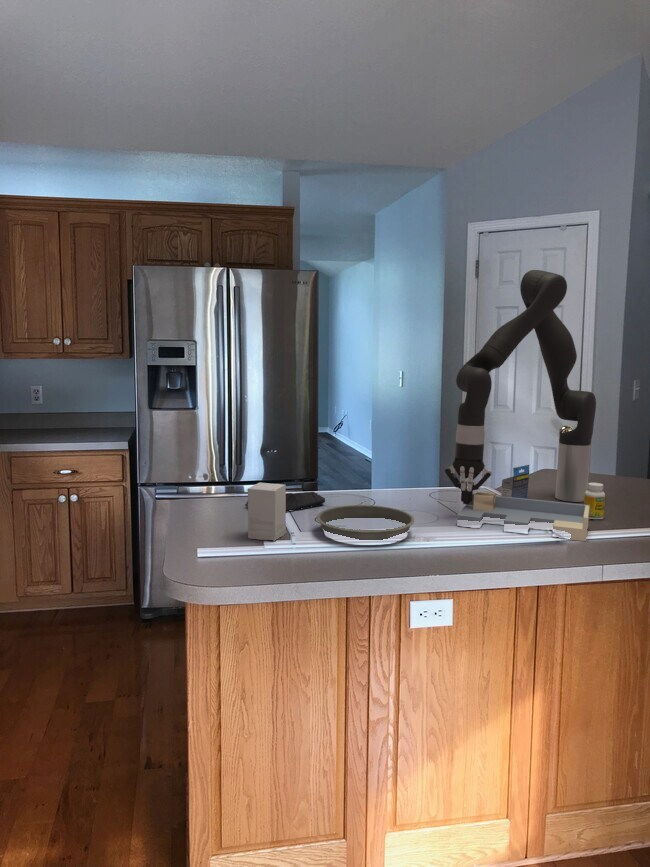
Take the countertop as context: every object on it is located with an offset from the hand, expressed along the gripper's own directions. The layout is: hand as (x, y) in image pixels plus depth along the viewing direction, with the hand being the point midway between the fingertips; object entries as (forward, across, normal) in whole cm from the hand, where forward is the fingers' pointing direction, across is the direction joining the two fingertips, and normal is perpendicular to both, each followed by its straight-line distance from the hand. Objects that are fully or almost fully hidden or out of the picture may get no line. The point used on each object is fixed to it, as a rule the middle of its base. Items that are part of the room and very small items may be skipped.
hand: (466, 503), depth 202 cm
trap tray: (+4, -16, +3) cm, 16 cm away
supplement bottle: (+4, -32, -15) cm, 36 cm away
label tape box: (+4, -10, -19) cm, 22 cm away
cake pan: (+5, +20, +26) cm, 33 cm away
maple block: (+1, -5, 0) cm, 5 cm away
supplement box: (+5, +41, +39) cm, 57 cm away
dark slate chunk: (+5, +50, +10) cm, 51 cm away
